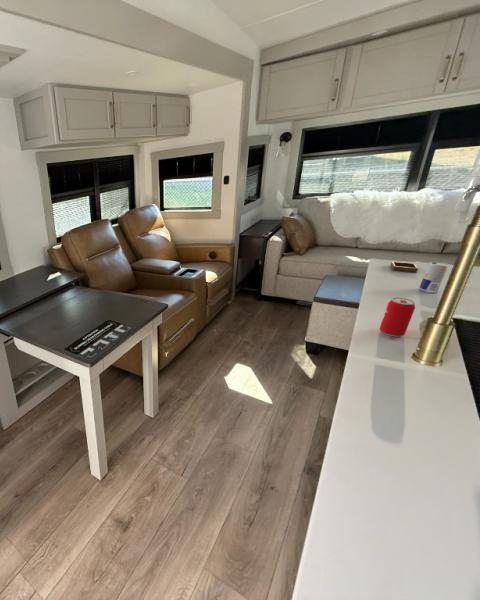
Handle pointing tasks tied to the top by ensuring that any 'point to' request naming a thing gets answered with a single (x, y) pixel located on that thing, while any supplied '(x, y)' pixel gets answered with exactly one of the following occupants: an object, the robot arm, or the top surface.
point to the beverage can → (397, 316)
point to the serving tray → (404, 267)
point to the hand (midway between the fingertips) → (468, 221)
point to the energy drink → (433, 277)
